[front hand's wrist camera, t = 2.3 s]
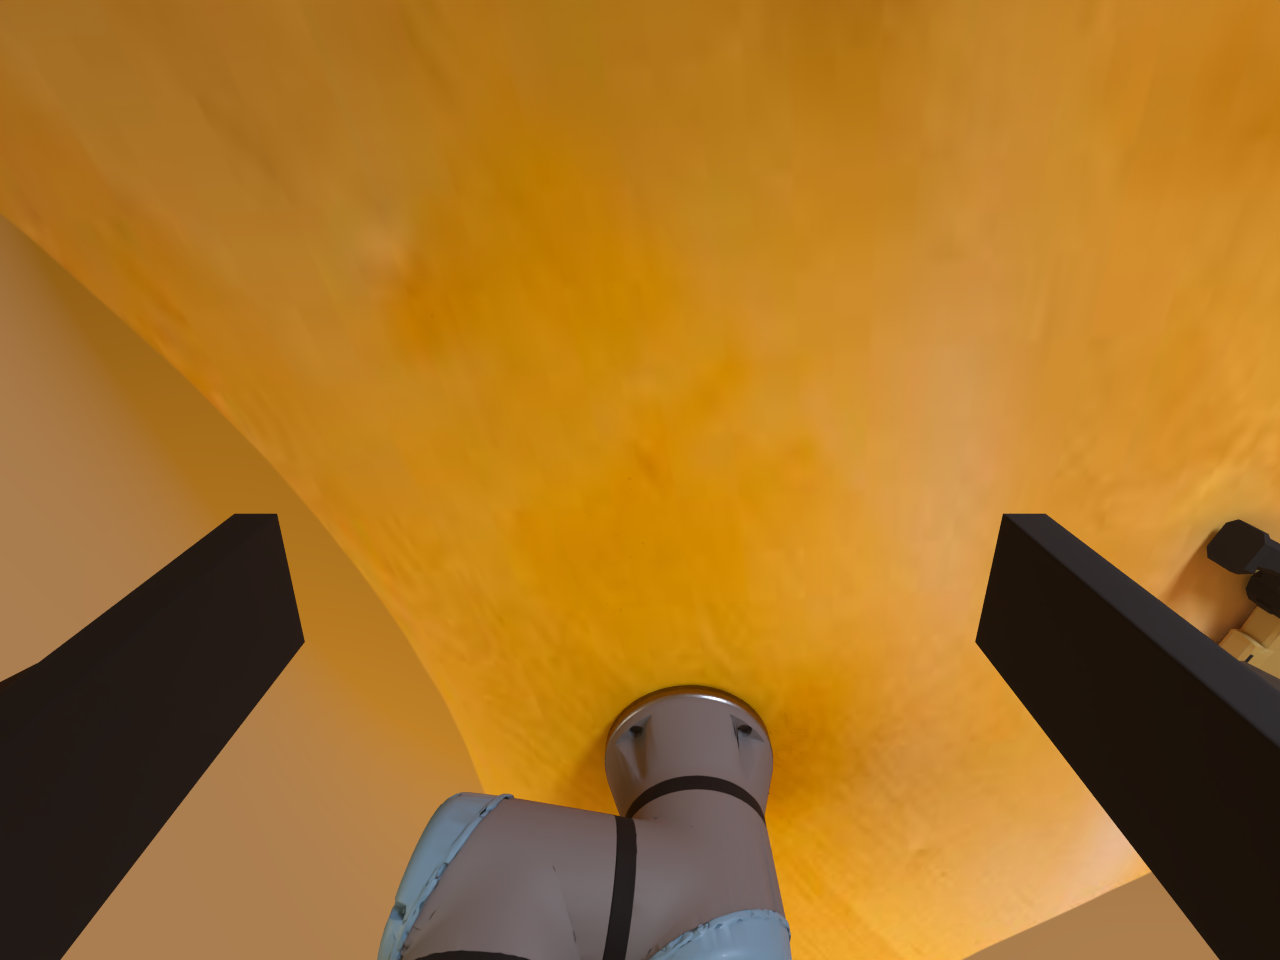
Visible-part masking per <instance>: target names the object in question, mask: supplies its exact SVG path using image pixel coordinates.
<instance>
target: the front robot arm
mask: <svg viewBox="0 0 1280 960" xmlns="http://www.w3.org/2000/svg"><path fill="white" fill-rule="evenodd" d="M304 642H305V641H304V636H303V632H302V627H301V623H300V618H299V613H298V609H297V604H296V599H295V595H294V590H293V586H292V581H291V576H290V572H289V567H288V562H287V558H286V553H285V549H284V544H283V539H282V535H281V530H280V526H279V521H278V516H277V514H234V515H232V516H231V517H230V518H228V519H227V520H226V521H224V522H223V523H222V524H220V525H219V526H218V527H217V528H215V529H214V530H213V531H211V532H210V533H209V534H207V535H206V536H205V537H203V538H202V539H201V540H199V541H198V542H197V543H196V544H194V545H193V546H192V547H190V548H189V549H188V550H186V551H185V552H184V553H182V554H181V555H180V556H178V557H177V558H176V559H174V560H173V561H172V562H170V563H169V564H168V565H167V566H165V567H164V568H163V569H161V570H160V571H159V572H157V573H156V574H155V575H153V576H152V577H151V578H149V579H148V580H147V581H145V582H144V583H143V584H141V585H140V586H139V587H138V588H136V589H135V590H134V591H132V592H131V593H130V594H128V595H127V596H126V597H124V598H123V599H122V600H120V601H119V602H118V603H117V604H115V605H114V606H113V607H111V608H110V609H109V610H107V611H106V612H105V613H103V614H102V615H101V616H99V617H98V618H97V619H95V620H94V621H93V622H91V623H90V624H89V625H88V626H86V627H85V628H84V629H82V630H81V631H80V632H78V633H77V634H76V635H74V636H73V637H72V638H70V639H69V640H68V641H66V642H65V643H64V644H62V645H61V646H60V647H59V648H57V649H56V650H55V651H53V652H52V653H51V654H49V655H48V656H47V657H45V658H44V659H43V660H41V661H40V662H39V663H37V664H35V665H33V666H31V667H29V668H27V669H25V670H23V671H21V672H19V673H17V674H15V675H13V676H11V677H9V678H7V679H5V680H3V681H1V682H0V960H61V958H62V957H63V956H64V954H65V953H66V952H67V950H68V949H69V948H70V947H71V945H72V944H73V943H74V941H75V940H76V939H77V937H78V936H79V935H80V934H81V932H82V931H83V930H84V928H85V927H86V926H87V924H88V923H89V922H90V921H91V919H92V918H93V917H94V915H95V914H96V913H97V911H98V910H99V909H100V908H101V906H102V905H103V904H104V902H105V901H106V900H107V898H108V897H109V896H110V895H111V893H112V892H113V891H114V889H115V888H116V887H117V885H118V884H119V883H120V882H121V880H122V879H123V878H124V876H125V875H126V874H127V872H128V871H129V870H130V869H131V867H132V866H133V865H134V863H135V862H136V861H137V859H138V858H139V857H140V856H141V854H142V853H143V852H144V850H145V849H146V848H147V846H148V845H149V844H150V842H151V841H152V840H153V839H154V837H155V836H156V835H157V833H158V832H159V831H160V829H161V828H162V827H163V826H164V824H165V823H166V822H167V820H168V819H169V818H170V816H171V815H172V814H173V813H174V811H175V810H176V809H177V807H178V806H179V805H180V803H181V802H182V801H183V800H184V798H185V797H186V796H187V794H188V793H189V792H190V790H191V789H192V788H193V787H194V785H195V784H196V783H197V781H198V780H199V779H200V777H201V776H202V775H203V774H204V772H205V771H206V770H207V768H208V767H209V766H210V764H211V763H212V762H213V761H214V759H215V758H216V757H217V755H218V754H219V753H220V751H221V750H222V749H223V748H224V746H225V745H226V744H227V742H228V741H229V740H230V738H231V737H232V736H233V735H234V733H235V732H236V731H237V729H238V728H239V727H240V725H241V724H242V723H243V722H244V720H245V719H246V718H247V716H248V715H249V714H250V712H251V711H252V710H253V708H254V707H255V706H256V705H257V703H258V702H259V701H260V699H261V698H262V697H263V696H264V694H265V693H266V692H267V690H268V689H269V688H270V686H271V685H272V684H273V683H274V681H275V680H276V679H277V677H278V676H279V675H280V673H281V672H282V671H283V669H284V668H285V667H286V666H287V664H288V663H289V662H290V660H291V659H292V658H293V657H294V655H295V654H296V653H297V651H298V650H299V649H300V647H301V646H302V645H303V643H304ZM975 642H976V644H977V645H978V646H979V647H980V649H981V650H982V651H983V653H984V654H985V655H986V657H987V658H988V659H989V660H990V662H991V663H992V664H993V666H994V667H995V668H996V670H997V671H998V672H999V673H1000V675H1001V676H1002V677H1003V679H1004V680H1005V681H1006V683H1007V684H1008V685H1009V686H1010V688H1011V689H1012V690H1013V692H1014V693H1015V694H1016V696H1017V697H1018V698H1019V699H1020V701H1021V702H1022V703H1023V705H1024V706H1025V707H1026V709H1027V710H1028V711H1029V712H1030V714H1031V715H1032V716H1033V718H1034V719H1035V720H1036V722H1037V723H1038V724H1039V725H1040V727H1041V728H1042V729H1043V731H1044V732H1045V733H1046V735H1047V736H1048V737H1049V738H1050V740H1051V741H1052V742H1053V744H1054V745H1055V746H1056V748H1057V749H1058V750H1059V751H1060V753H1061V754H1062V755H1063V757H1064V758H1065V759H1066V761H1067V762H1068V763H1069V764H1070V766H1071V767H1072V768H1073V770H1074V771H1075V772H1076V774H1077V775H1078V776H1079V777H1080V779H1081V780H1082V781H1083V783H1084V784H1085V785H1086V787H1087V788H1088V789H1089V791H1090V792H1091V793H1092V794H1093V796H1094V797H1095V798H1096V800H1097V801H1098V802H1099V804H1100V805H1101V806H1102V807H1103V809H1104V810H1105V811H1106V813H1107V814H1108V815H1109V817H1110V818H1111V819H1112V820H1113V822H1114V823H1115V824H1116V826H1117V827H1118V828H1119V830H1120V831H1121V832H1122V833H1123V835H1124V836H1125V837H1126V839H1127V840H1128V841H1129V843H1130V844H1131V845H1132V846H1133V848H1134V849H1135V850H1136V852H1137V853H1138V854H1139V856H1140V857H1141V858H1142V859H1143V861H1144V862H1145V863H1146V865H1147V866H1148V867H1149V869H1150V870H1151V871H1152V872H1153V874H1154V875H1155V876H1156V878H1157V879H1158V880H1159V882H1160V883H1161V884H1162V885H1163V887H1164V888H1165V889H1166V891H1167V892H1168V893H1169V895H1170V896H1171V897H1172V898H1173V900H1174V901H1175V902H1176V904H1177V905H1178V906H1179V908H1180V909H1181V910H1182V911H1183V913H1184V914H1185V915H1186V917H1187V918H1188V919H1189V921H1190V922H1191V923H1192V924H1193V926H1194V927H1195V928H1196V930H1197V931H1198V932H1199V934H1200V935H1201V936H1202V937H1203V939H1204V940H1205V941H1206V943H1207V944H1208V945H1209V947H1210V948H1211V949H1212V950H1213V952H1214V953H1215V954H1216V956H1217V957H1218V958H1219V959H1220V960H1280V679H1279V678H1277V677H1275V676H1273V675H1271V674H1269V673H1267V672H1265V671H1263V670H1261V669H1259V668H1257V667H1255V666H1253V665H1251V664H1249V663H1247V662H1245V661H1239V660H1237V659H1236V658H1235V657H1233V656H1232V655H1231V654H1229V653H1228V652H1227V651H1225V650H1224V649H1223V648H1221V647H1220V646H1219V645H1218V644H1216V643H1215V642H1214V641H1212V640H1211V639H1210V638H1208V637H1207V636H1206V635H1204V634H1203V633H1202V632H1200V631H1199V630H1198V629H1196V628H1195V627H1194V626H1193V625H1191V624H1190V623H1189V622H1187V621H1186V620H1185V619H1183V618H1182V617H1181V616H1179V615H1178V614H1177V613H1175V612H1174V611H1173V610H1171V609H1170V608H1169V607H1167V606H1166V605H1165V604H1164V603H1162V602H1161V601H1160V600H1158V599H1157V598H1156V597H1154V596H1153V595H1152V594H1150V593H1149V592H1148V591H1146V590H1145V589H1144V588H1142V587H1141V586H1140V585H1139V584H1137V583H1136V582H1135V581H1133V580H1132V579H1131V578H1129V577H1128V576H1127V575H1125V574H1124V573H1123V572H1121V571H1120V570H1119V569H1117V568H1116V567H1115V566H1114V565H1112V564H1111V563H1110V562H1108V561H1107V560H1106V559H1104V558H1103V557H1102V556H1100V555H1099V554H1098V553H1096V552H1095V551H1094V550H1092V549H1091V548H1090V547H1088V546H1087V545H1086V544H1085V543H1083V542H1082V541H1081V540H1079V539H1078V538H1077V537H1075V536H1074V535H1073V534H1071V533H1070V532H1069V531H1067V530H1066V529H1065V528H1063V527H1062V526H1061V525H1060V524H1058V523H1057V522H1056V521H1054V520H1053V519H1052V518H1050V517H1049V516H1048V515H1046V514H1003V516H1002V521H1001V526H1000V530H999V535H998V539H997V544H996V549H995V553H994V558H993V562H992V567H991V572H990V576H989V581H988V586H987V590H986V595H985V599H984V604H983V609H982V613H981V618H980V623H979V627H978V632H977V636H976V641H975ZM605 770H606V775H607V780H608V783H609V786H610V789H611V792H612V795H613V798H614V800H615V803H616V806H617V809H618V812H619V814H620V816H615V815H612V814H606V813H600V812H594V811H588V810H582V809H576V808H570V807H564V806H559V805H553V804H547V803H541V802H535V801H529V800H523V799H517V798H514V796H513V795H511V794H502V795H499V796H497V795H488V794H480V793H472V792H462V793H458V794H455V795H454V796H452V797H450V798H448V799H447V800H446V801H445V802H444V803H443V804H441V805H440V806H439V808H438V809H437V810H436V811H435V813H434V814H433V816H432V817H431V819H430V821H429V822H428V824H427V826H426V828H425V829H424V831H423V833H422V835H421V837H420V839H419V841H418V843H417V845H416V848H415V850H414V852H413V854H412V856H411V859H410V861H409V863H408V866H407V868H406V870H405V873H404V875H403V878H402V880H401V883H400V886H399V888H398V891H397V894H396V897H395V905H394V907H393V908H392V911H391V913H390V916H389V919H388V921H387V923H386V926H385V929H384V932H383V936H382V940H381V944H380V948H379V952H378V959H377V960H792V957H791V950H790V938H791V933H790V928H789V924H788V922H787V920H786V918H785V914H784V909H783V904H782V899H781V894H780V890H779V885H778V880H777V875H776V870H775V866H774V861H773V856H772V851H771V846H770V842H769V837H768V832H767V828H766V822H765V817H764V815H765V809H766V804H767V798H768V793H769V787H770V782H771V776H772V770H773V753H772V748H771V743H770V739H769V735H768V732H767V729H766V726H765V724H764V723H763V721H762V719H761V718H760V716H759V715H758V714H757V713H756V712H755V710H754V709H753V708H751V707H750V706H749V705H748V704H747V703H745V702H744V701H743V700H741V699H739V698H738V697H736V696H734V695H732V694H730V693H728V692H725V691H722V690H719V689H715V688H711V687H706V686H695V685H685V686H674V687H669V688H664V689H661V690H657V691H654V692H652V693H649V694H647V695H645V696H643V697H641V698H639V699H638V700H636V701H635V702H633V703H632V704H631V705H629V706H628V707H627V708H626V709H625V710H624V711H623V712H622V713H621V714H620V715H619V716H618V717H617V719H616V720H615V722H614V723H613V725H612V727H611V729H610V731H609V734H608V737H607V742H606V751H605Z"/></svg>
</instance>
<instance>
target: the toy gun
mask: <svg viewBox="0 0 1280 960" xmlns="http://www.w3.org/2000/svg"><path fill="white" fill-rule="evenodd" d="M1207 557H1208V558H1209V559H1211V560H1212V561H1214V562H1216V563H1217V564H1219V565H1220V566H1222V567H1224V568H1225V569H1227V570H1229V571H1230V572H1233V573H1236V574H1254V575H1253V576H1252V577H1251V579H1250V581H1249V583H1248V585H1247V587H1246V592H1247V595H1248V598H1249V599H1250V600H1251V601H1253V602H1254V603H1256V604H1257V606H1256V608H1255V609H1254V611H1253V612H1252V613H1251V615H1250V616H1249V618H1248V619H1247V620H1246V622H1245V623H1244V625H1243V626H1242V627H1241V628H1240V629H1237V628H1236V629H1231V630H1230V632H1229V633H1228V634H1227V635H1226V636H1225V637H1224V639H1223V640H1222V641H1221V642H1220V643H1219V644H1218V645H1219V646H1220V647H1221V648H1223V649H1224V650H1225V651H1227V652H1228V653H1229V654H1231V655H1232V656H1233V657H1235V658H1236V659H1237V660H1239V661H1245V662H1247V663H1249V664H1251V665H1253V666H1255V667H1257V668H1259V669H1261V670H1263V671H1265V672H1267V673H1269V674H1271V675H1273V676H1275V677H1277V678H1279V679H1280V544H1279V543H1277V542H1275V541H1274V540H1272V539H1270V537H1269V534H1267V533H1265V532H1263V531H1261V530H1259V529H1258V528H1256V527H1254V526H1252V525H1250V524H1248V523H1246V522H1243V521H1241V520H1239V519H1238V520H1235V521H1231V522H1227V523H1225V525H1224V526H1223V527H1222V528H1221V530H1220V531H1219V532H1218V533H1217V535H1216V536H1215V537H1214V538H1213V539H1212V541H1211V542H1210V543H1209V544H1208V546H1207ZM1256 569H1257V570H1260V571H1259V572H1257V573H1256V574H1255V571H1256Z"/></svg>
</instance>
